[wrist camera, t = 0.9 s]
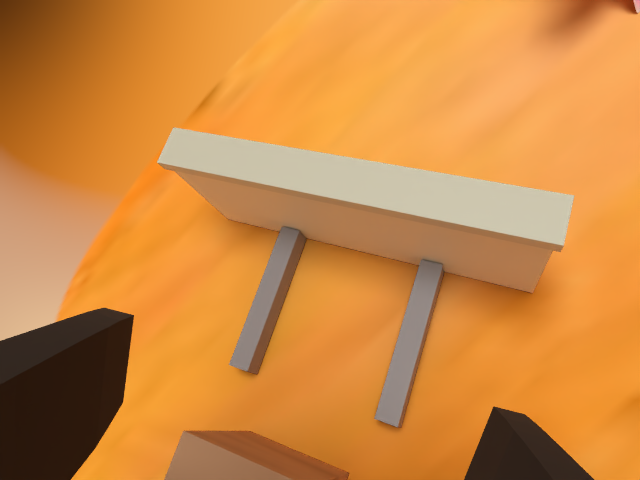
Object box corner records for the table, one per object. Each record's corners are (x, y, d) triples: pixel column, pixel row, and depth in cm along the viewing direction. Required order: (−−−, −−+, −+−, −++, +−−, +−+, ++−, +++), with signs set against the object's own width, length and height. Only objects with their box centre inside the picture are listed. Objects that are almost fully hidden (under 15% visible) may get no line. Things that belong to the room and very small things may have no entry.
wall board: (500, 464, 19) (514, 478, 14) (172, 343, 25) (83, 316, 19) (545, 259, 22) (574, 195, 16) (236, 192, 28) (173, 127, 22)
